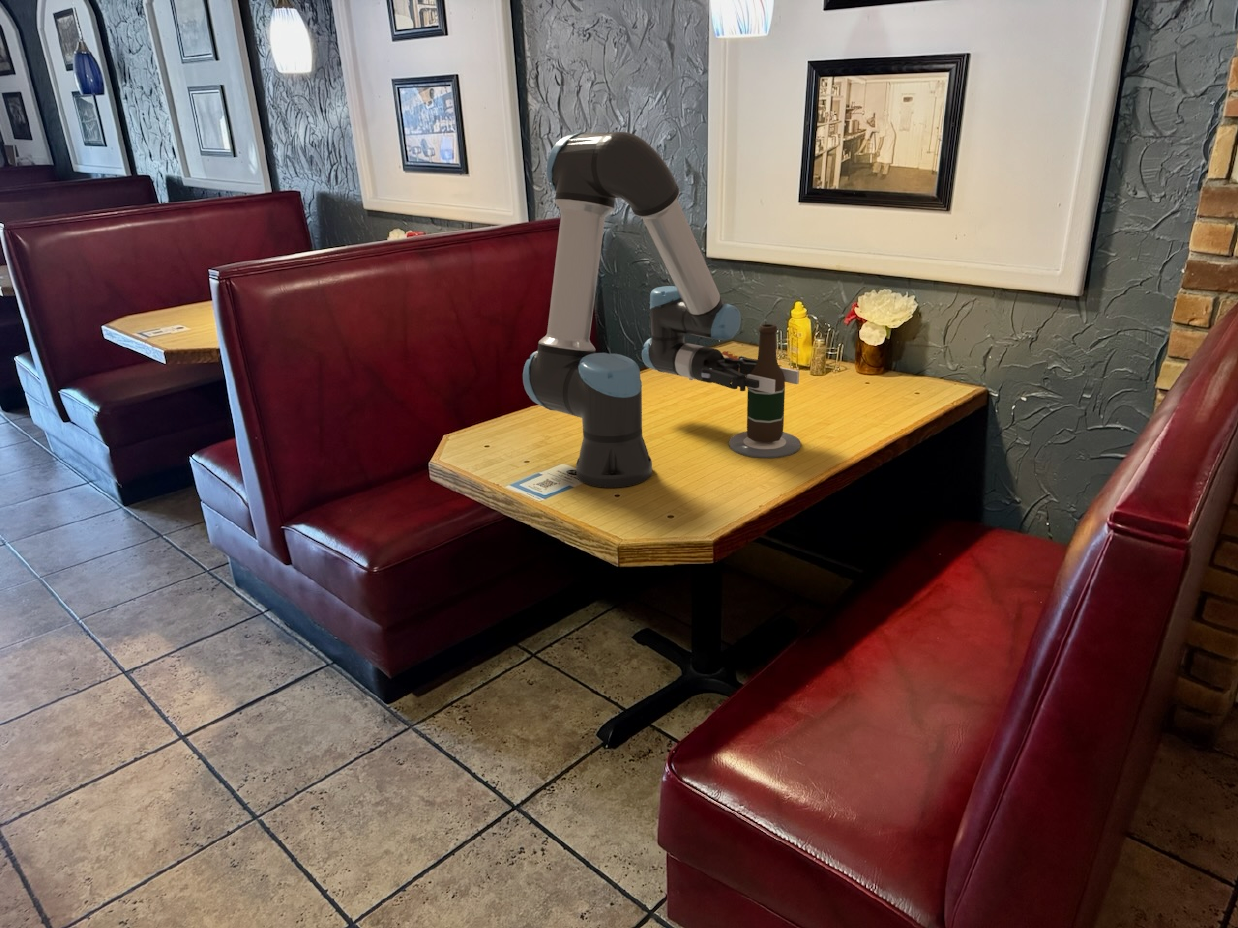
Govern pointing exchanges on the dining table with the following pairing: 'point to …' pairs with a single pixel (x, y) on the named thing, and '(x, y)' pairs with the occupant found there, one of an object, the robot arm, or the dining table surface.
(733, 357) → the food
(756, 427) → the beer bottle
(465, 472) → the dining table surface
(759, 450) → the slate coaster
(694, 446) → the dining table surface
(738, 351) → the dining table surface
